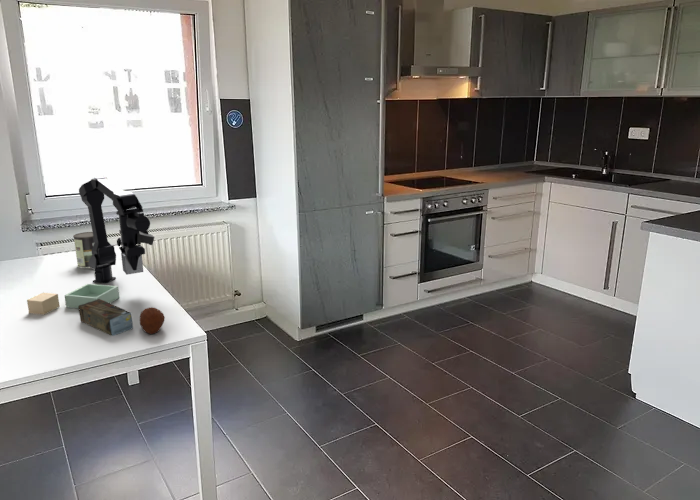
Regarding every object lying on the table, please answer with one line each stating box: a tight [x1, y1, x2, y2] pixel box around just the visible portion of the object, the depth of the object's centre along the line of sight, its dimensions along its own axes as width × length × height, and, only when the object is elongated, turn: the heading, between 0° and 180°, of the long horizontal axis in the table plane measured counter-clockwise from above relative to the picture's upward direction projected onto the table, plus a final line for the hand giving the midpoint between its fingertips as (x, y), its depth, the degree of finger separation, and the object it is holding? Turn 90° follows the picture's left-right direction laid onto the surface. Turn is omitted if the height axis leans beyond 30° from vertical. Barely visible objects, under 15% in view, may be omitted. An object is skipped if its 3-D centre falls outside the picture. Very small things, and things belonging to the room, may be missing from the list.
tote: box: [64, 283, 120, 309], centre depth 194 cm, size 13×13×4 cm
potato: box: [139, 306, 166, 335], centre depth 171 cm, size 8×12×8 cm, turn 38°
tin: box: [120, 251, 144, 275], centre depth 200 cm, size 6×6×7 cm
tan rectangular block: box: [26, 292, 60, 315], centre depth 187 cm, size 8×6×5 cm
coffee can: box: [73, 231, 94, 269], centre depth 235 cm, size 10×10×14 cm
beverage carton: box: [77, 299, 134, 337], centre depth 175 cm, size 8×19×7 cm, turn 54°
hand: (132, 267), depth 200 cm, fingers closed on tin, 6 cm apart
